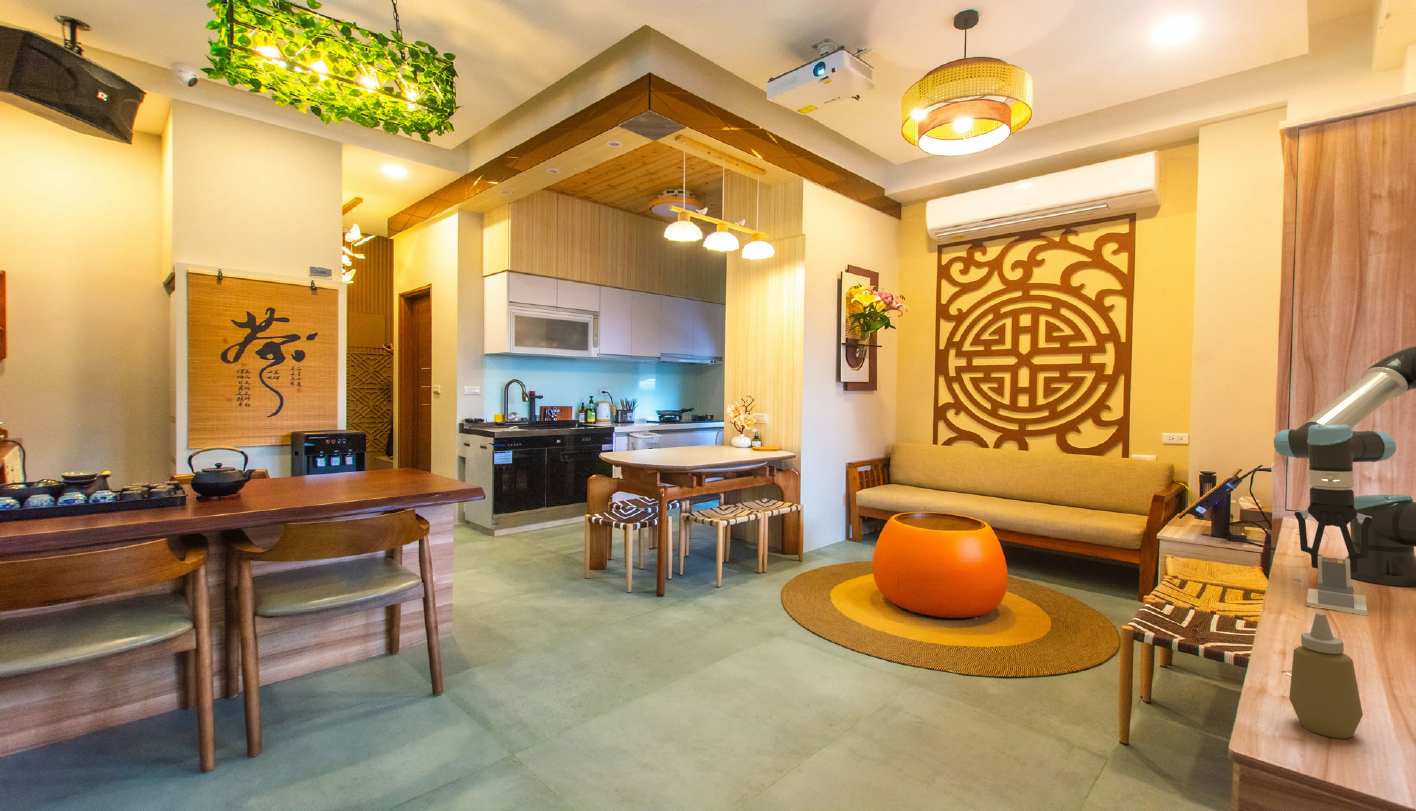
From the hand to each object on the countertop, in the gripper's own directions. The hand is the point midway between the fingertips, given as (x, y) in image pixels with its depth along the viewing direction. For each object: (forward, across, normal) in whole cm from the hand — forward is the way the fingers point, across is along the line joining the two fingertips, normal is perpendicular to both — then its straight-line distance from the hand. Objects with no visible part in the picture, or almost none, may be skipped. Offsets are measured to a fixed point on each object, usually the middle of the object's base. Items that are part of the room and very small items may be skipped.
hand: (1334, 583), depth 148 cm
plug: (0, 0, 0) cm, 0 cm away
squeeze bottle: (+7, -1, -77) cm, 77 cm away
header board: (+5, 0, +2) cm, 6 cm away
